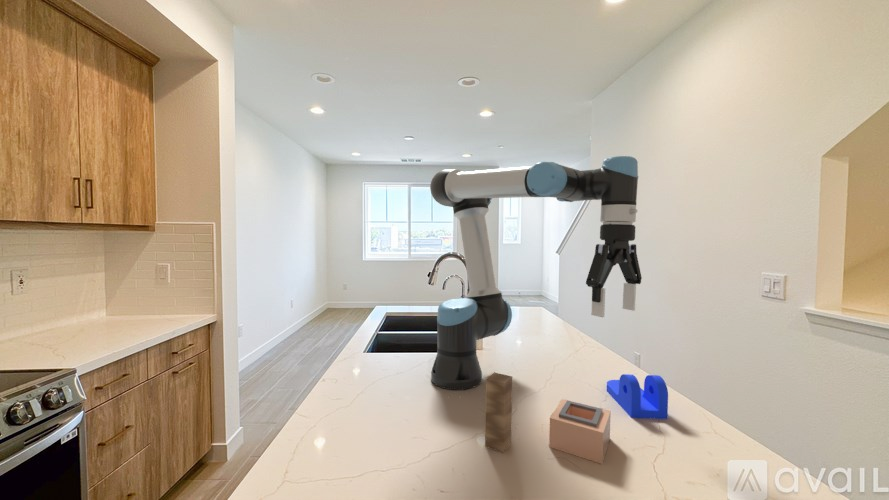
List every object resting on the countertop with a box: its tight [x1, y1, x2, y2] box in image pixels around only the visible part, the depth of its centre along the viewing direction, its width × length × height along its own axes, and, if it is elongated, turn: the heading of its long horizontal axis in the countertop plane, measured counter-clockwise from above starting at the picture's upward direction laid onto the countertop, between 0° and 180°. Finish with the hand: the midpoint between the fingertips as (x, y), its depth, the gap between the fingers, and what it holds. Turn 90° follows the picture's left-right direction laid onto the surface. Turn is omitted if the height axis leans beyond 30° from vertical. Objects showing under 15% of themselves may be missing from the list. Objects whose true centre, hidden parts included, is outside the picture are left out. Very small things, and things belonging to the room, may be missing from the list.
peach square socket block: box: [548, 398, 612, 465], centre depth 74 cm, size 10×10×7 cm
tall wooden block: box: [484, 371, 513, 454], centre depth 73 cm, size 4×4×14 cm
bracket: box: [606, 373, 669, 420], centre depth 93 cm, size 18×8×9 cm, turn 177°
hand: (613, 312), depth 85 cm, fingers open, 13 cm apart
